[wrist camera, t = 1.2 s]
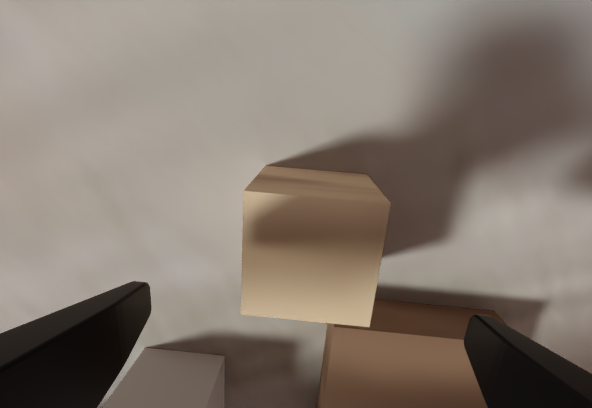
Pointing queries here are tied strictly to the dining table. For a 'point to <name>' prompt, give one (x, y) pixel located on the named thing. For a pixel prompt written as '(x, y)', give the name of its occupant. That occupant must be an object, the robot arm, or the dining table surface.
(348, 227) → the maple cube
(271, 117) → the dining table surface
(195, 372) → the grey cube
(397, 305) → the walnut block
